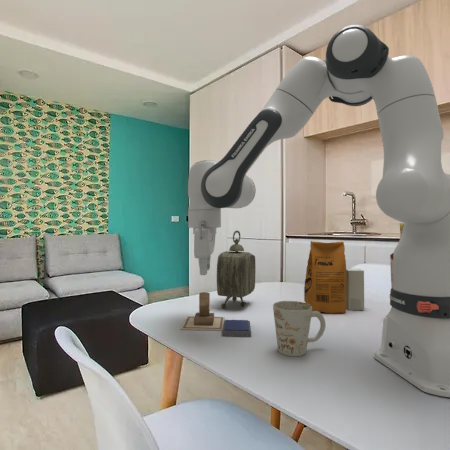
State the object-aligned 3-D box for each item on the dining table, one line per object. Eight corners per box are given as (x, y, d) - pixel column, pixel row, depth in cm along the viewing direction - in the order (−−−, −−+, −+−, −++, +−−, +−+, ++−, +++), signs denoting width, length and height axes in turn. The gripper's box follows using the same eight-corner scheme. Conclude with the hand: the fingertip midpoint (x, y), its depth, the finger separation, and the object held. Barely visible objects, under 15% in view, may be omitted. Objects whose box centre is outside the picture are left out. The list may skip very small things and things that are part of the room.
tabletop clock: (231, 299, 119) (232, 229, 119) (255, 302, 116) (256, 230, 116) (216, 309, 106) (217, 230, 106) (243, 312, 103) (244, 231, 102)
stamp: (212, 325, 89) (212, 295, 89) (193, 325, 89) (194, 295, 89) (214, 320, 94) (214, 291, 94) (196, 319, 94) (196, 291, 94)
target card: (223, 330, 86) (223, 329, 86) (180, 329, 86) (180, 328, 86) (224, 318, 97) (224, 316, 97) (187, 317, 97) (187, 316, 97)
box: (360, 307, 111) (360, 268, 110) (364, 310, 106) (365, 270, 106) (343, 306, 111) (344, 268, 111) (347, 310, 107) (347, 270, 107)
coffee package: (302, 305, 113) (303, 240, 112) (340, 306, 111) (341, 240, 111) (306, 313, 103) (307, 241, 102) (348, 314, 101) (349, 242, 101)
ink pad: (251, 336, 81) (251, 330, 81) (222, 336, 82) (222, 330, 82) (249, 325, 90) (249, 319, 90) (223, 324, 91) (224, 319, 91)
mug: (265, 346, 75) (266, 302, 75) (312, 340, 80) (313, 298, 80) (285, 361, 67) (285, 312, 67) (336, 353, 72) (336, 306, 72)
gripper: (213, 220, 80) (214, 278, 80) (218, 221, 101) (218, 267, 101) (187, 220, 80) (188, 278, 80) (197, 222, 101) (197, 268, 101)
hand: (205, 272), depth 91 cm, fingers open, 8 cm apart
